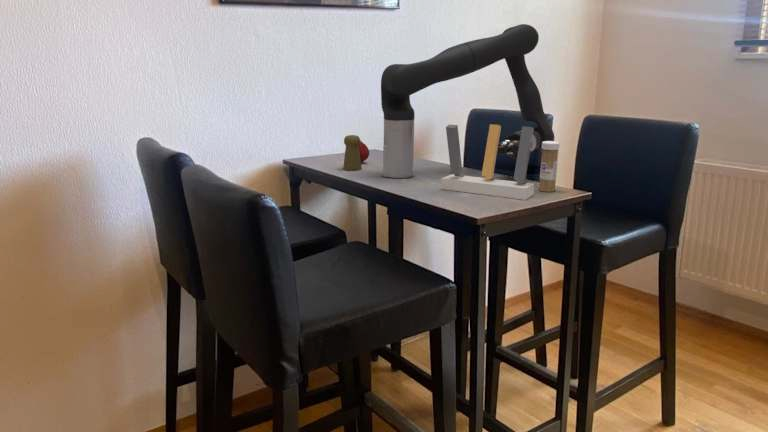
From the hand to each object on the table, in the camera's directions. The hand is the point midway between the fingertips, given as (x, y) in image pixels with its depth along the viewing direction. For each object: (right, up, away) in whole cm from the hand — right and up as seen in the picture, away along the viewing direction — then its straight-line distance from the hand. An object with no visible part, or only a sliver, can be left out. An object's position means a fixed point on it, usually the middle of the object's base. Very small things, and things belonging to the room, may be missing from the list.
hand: (499, 151), depth 167 cm
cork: (-43, -3, +27) cm, 51 cm away
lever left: (-12, -6, -1) cm, 14 cm away
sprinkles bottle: (+12, -11, -3) cm, 17 cm away
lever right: (+3, -9, -10) cm, 14 cm away
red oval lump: (-40, 0, +37) cm, 55 cm away
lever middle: (-5, -7, -6) cm, 10 cm away
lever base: (-5, -12, -5) cm, 13 cm away
